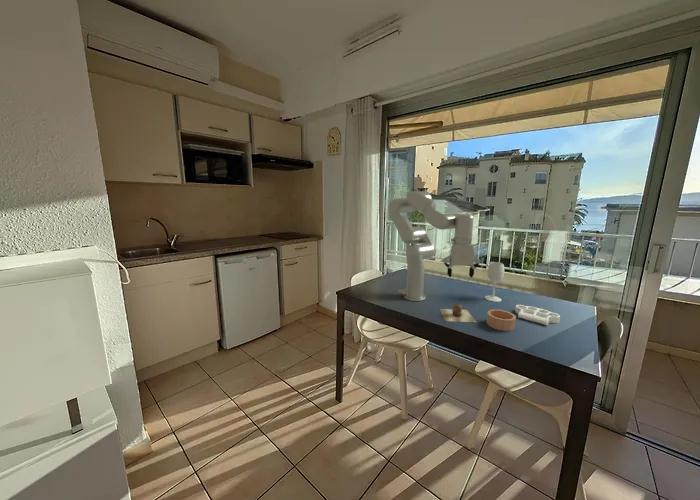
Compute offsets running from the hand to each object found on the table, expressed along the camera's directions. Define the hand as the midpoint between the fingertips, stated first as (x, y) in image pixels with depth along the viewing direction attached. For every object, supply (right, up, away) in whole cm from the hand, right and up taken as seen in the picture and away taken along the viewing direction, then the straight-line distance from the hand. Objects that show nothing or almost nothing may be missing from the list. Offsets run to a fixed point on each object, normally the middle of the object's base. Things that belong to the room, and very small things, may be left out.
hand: (460, 276), depth 127 cm
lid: (0, -20, +4) cm, 21 cm away
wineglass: (+29, -16, +24) cm, 41 cm away
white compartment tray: (+37, -21, +2) cm, 42 cm away
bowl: (+16, -22, -6) cm, 27 cm away
